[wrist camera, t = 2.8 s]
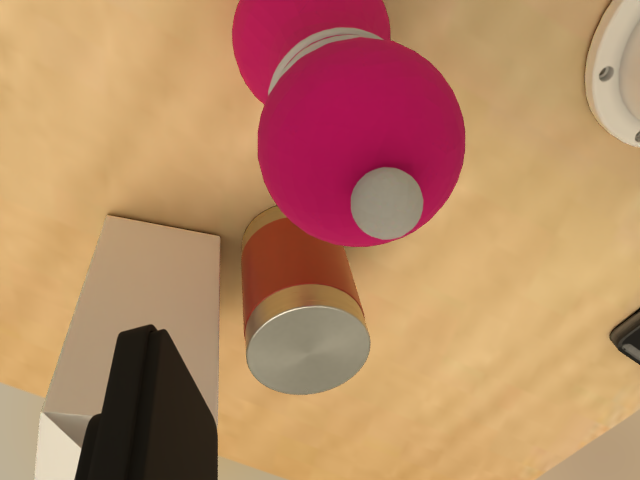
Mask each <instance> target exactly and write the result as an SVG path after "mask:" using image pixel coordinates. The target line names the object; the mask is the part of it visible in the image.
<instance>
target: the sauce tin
mask: <svg viewBox="0 0 640 480" xmlns="http://www.w3.org/2000/svg"><path fill="white" fill-rule="evenodd" d="M241 267H242V293H243V319H244V337H245V342H246V359H247V364H248V367H249V369H250V371H251V373H252V374H253V376H254V377H255V378H256V379H257V380H258V381H259V382H260V383H262V384H263V385H265V386H266V387H268V388H270V389H272V390H275V391H278V392H282V393H286V394H294V395H307V394H315V393H320V392H324V391H327V390H330V389H333V388H335V387H337V386H339V385H341V384H343V383H345V382H346V381H348V380H349V379H350V378H352V377H353V376H354V375H355V374H356V373H357V372H358V371H359V370H360V369H361V368H362V366H363V365H364V363H365V362H366V360H367V357H368V355H369V351H370V336H369V333H368V330H367V326H366V323H365V317H364V312H363V309H362V306H361V302H360V299H359V296H358V293H357V289H356V286H355V283H354V279H353V276H352V273H351V269H350V266H349V263H348V260H347V256H346V253H345V250H344V246H342V245H335V244H332V243H329V242H326V241H323V240H320V239H317V238H315V237H313V236H311V235H309V234H307V233H306V232H305V231H303V230H302V229H300V228H299V227H298V226H296V225H295V224H293V223H292V222H291V221H290V220H289V219H288V218H287V217H286V216H285V215H284V214H283V213H282V212H281V210H280V209H279V207H278V206H275V207H272V208H270V209H268V210H266V211H264V212H262V213H261V214H259V215H258V216H257V217H256V218H255V219H254V220H253V221H252V222H251V223H250V224H249V226H248V227H247V229H246V231H245V233H244V236H243V239H242V259H241Z"/></svg>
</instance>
